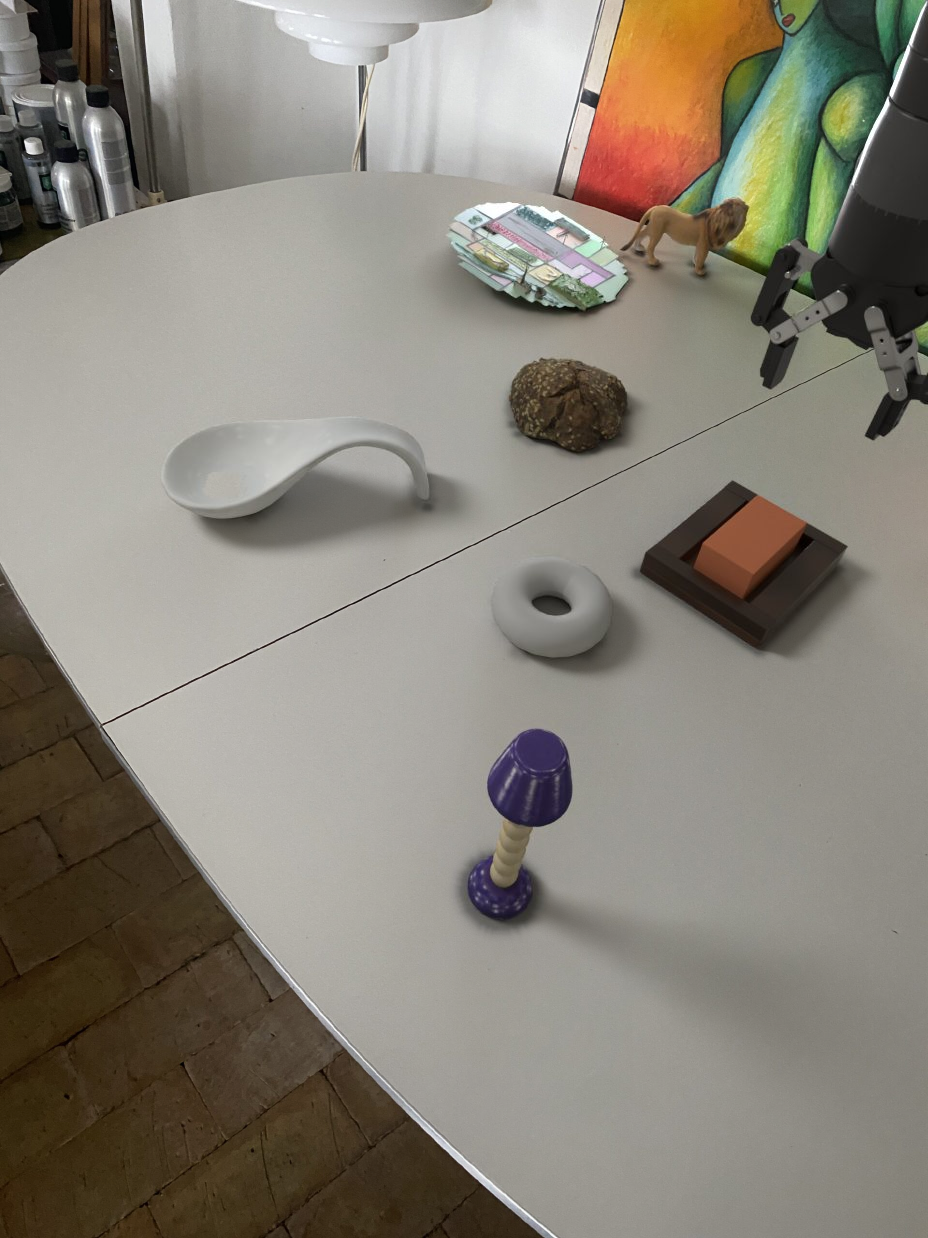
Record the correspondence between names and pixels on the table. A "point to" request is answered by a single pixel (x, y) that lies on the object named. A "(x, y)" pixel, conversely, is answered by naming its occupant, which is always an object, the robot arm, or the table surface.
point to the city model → (536, 255)
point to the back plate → (743, 618)
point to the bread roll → (567, 403)
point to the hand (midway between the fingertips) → (821, 408)
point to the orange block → (750, 546)
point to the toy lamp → (520, 817)
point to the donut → (547, 630)
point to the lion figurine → (692, 229)
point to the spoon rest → (274, 458)
